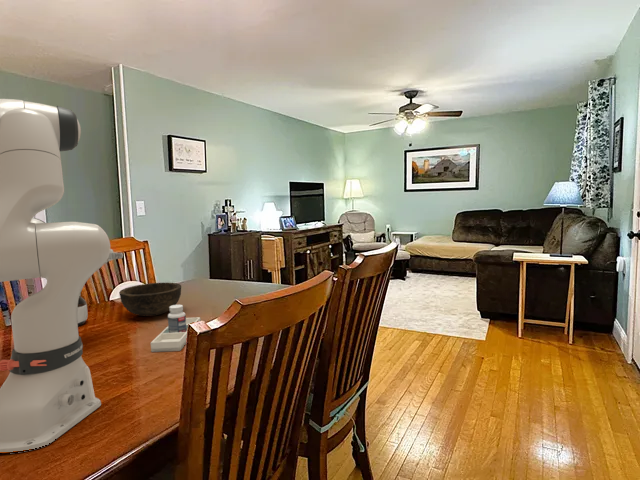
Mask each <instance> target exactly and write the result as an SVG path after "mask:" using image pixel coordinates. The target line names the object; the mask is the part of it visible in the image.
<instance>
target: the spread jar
mask: <svg viewBox="0 0 640 480" xmlns="http://www.w3.org/2000/svg"><path fill="white" fill-rule="evenodd" d="M88 315H89V314H88V304H87V301H86V300H85V299H84V298H83V297H82V296H81V295H80V296H79V300H78V312H77V317H78V327H80V326H82V325H83V324H85V323H86V321H87V319H88Z"/></svg>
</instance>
